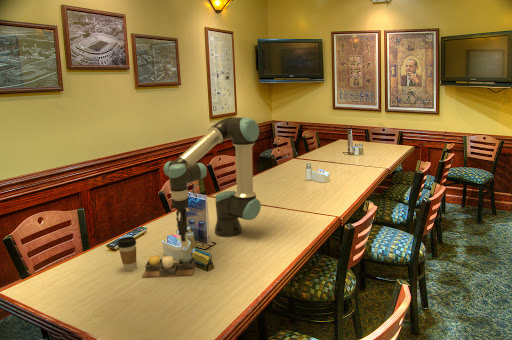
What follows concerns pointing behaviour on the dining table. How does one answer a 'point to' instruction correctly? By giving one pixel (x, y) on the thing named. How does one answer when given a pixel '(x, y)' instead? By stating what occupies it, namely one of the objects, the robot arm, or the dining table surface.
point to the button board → (175, 271)
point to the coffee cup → (128, 253)
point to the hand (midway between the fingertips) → (184, 246)
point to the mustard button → (154, 260)
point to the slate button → (185, 257)
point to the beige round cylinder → (168, 262)
